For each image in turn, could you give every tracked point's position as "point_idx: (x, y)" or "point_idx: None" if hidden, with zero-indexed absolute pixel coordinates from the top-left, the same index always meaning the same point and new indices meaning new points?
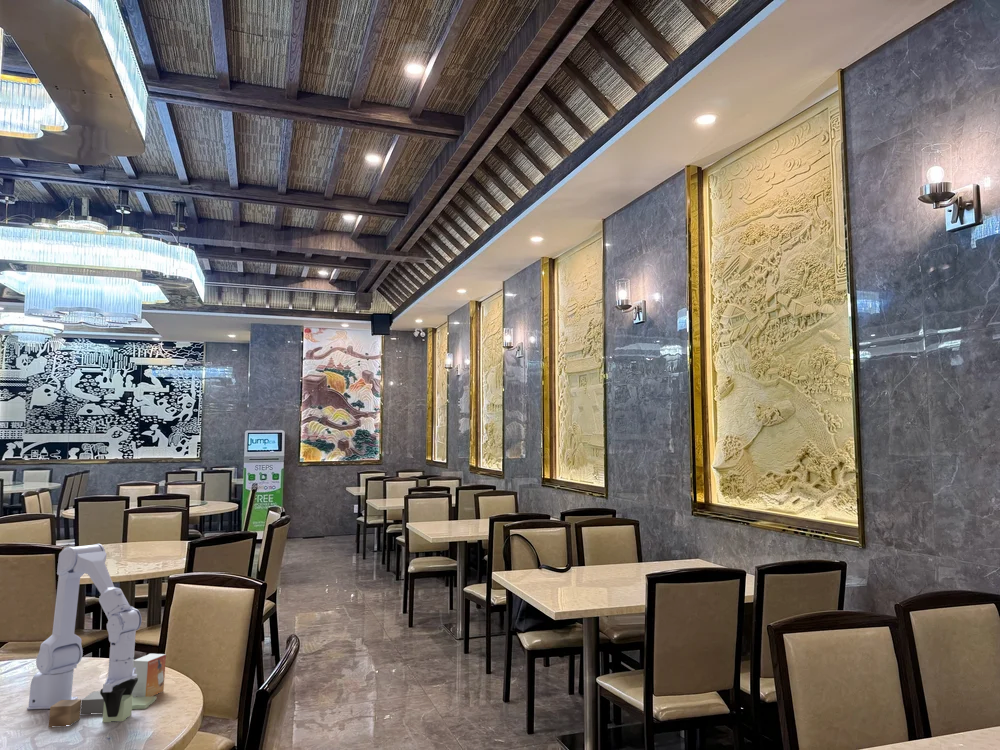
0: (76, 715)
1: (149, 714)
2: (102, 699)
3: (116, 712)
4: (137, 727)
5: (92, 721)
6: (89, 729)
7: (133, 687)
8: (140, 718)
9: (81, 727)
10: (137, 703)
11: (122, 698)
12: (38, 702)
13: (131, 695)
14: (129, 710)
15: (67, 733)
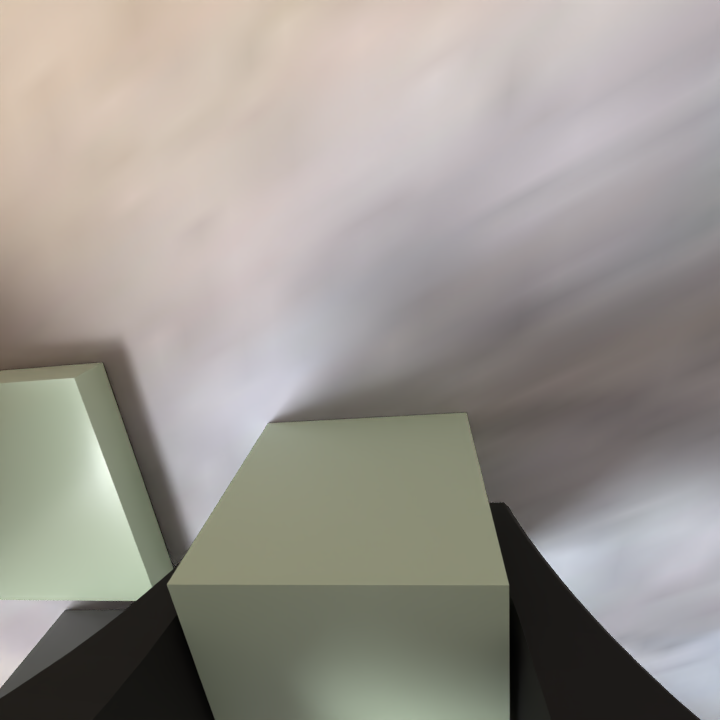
0: None
1: (246, 228)
2: None
3: (522, 534)
4: (712, 127)
5: None
6: (646, 597)
7: (29, 706)
8: (376, 268)
9: None
10: (62, 479)
11: (363, 653)
12: None
13: (208, 587)
14: (306, 452)
15: (708, 701)
